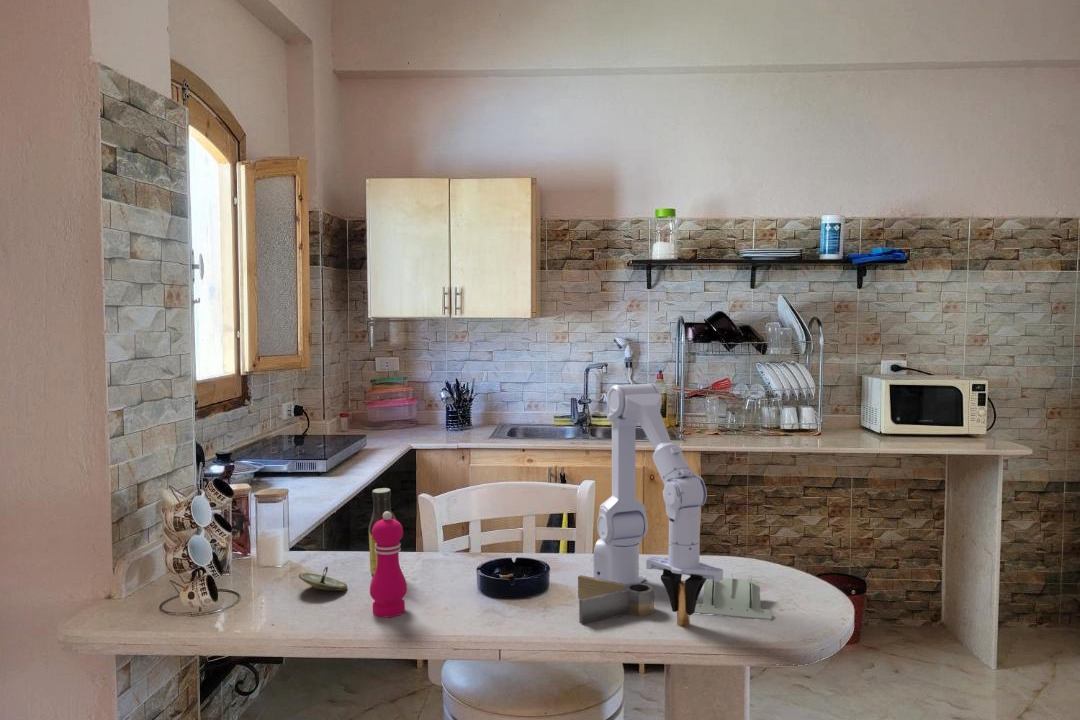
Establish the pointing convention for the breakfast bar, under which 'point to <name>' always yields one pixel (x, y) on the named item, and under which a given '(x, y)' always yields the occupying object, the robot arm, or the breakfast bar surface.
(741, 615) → the metal bracket
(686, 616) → the hinge pin
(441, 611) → the breakfast bar surface
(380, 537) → the pepper mill
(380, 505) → the sauce bottle
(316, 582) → the lid
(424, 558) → the breakfast bar surface
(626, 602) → the hinge
